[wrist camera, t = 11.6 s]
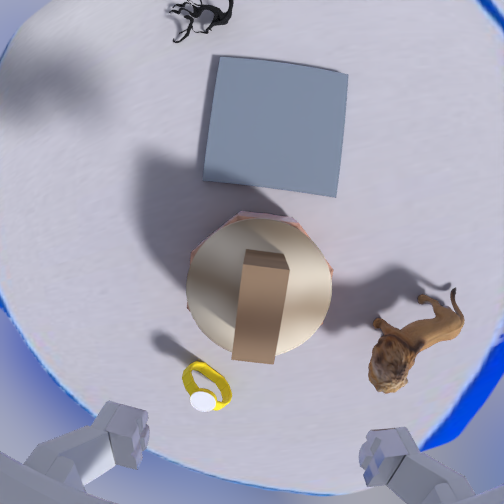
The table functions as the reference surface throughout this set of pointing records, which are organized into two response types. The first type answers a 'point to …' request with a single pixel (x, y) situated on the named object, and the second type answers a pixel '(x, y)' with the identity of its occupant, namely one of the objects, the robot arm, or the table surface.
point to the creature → (218, 18)
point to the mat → (276, 126)
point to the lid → (258, 288)
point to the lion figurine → (410, 343)
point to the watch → (204, 397)
